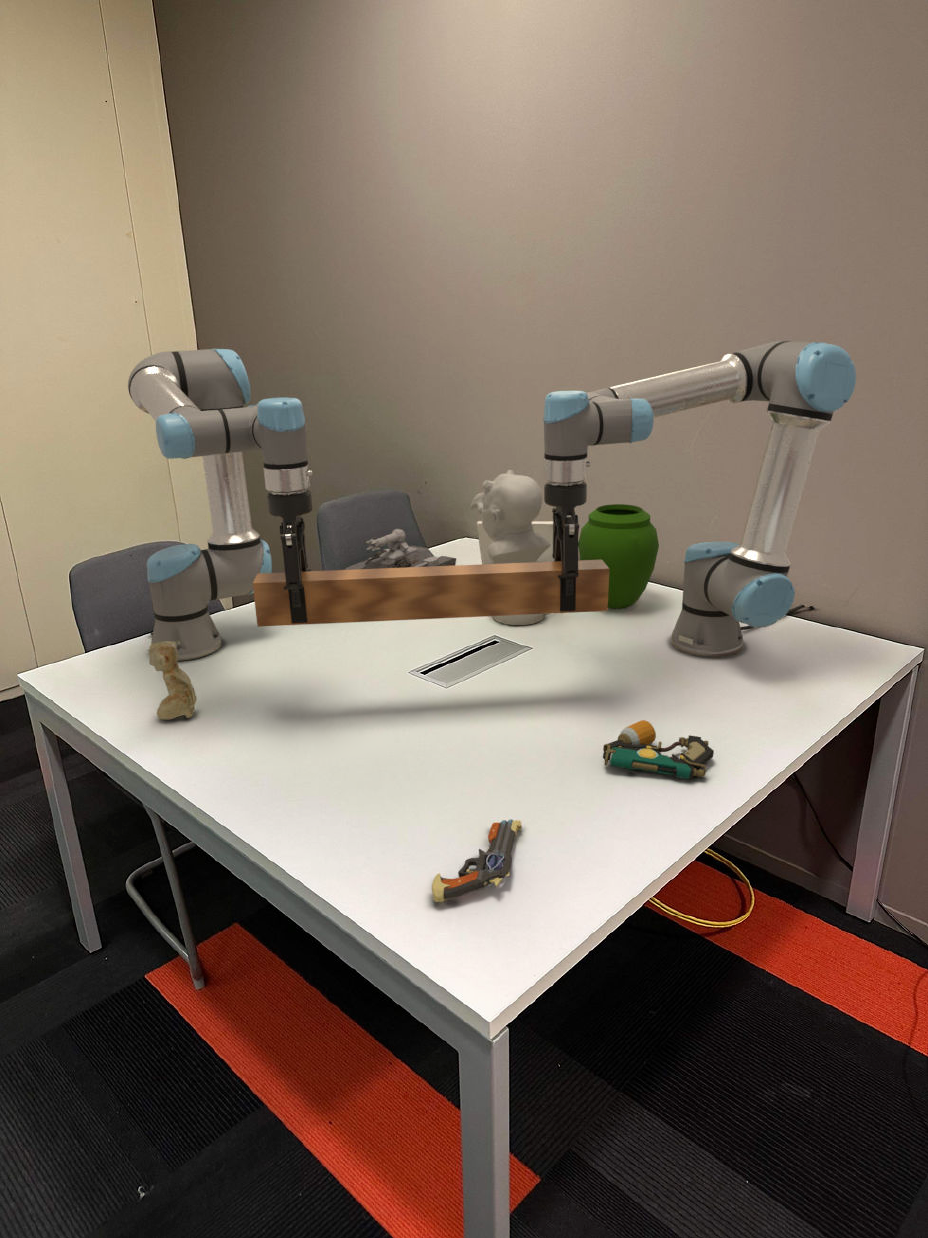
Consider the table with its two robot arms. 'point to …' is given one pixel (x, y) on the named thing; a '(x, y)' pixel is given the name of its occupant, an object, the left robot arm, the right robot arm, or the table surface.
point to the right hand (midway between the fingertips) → (564, 604)
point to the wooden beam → (430, 592)
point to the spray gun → (657, 752)
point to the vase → (621, 549)
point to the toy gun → (481, 864)
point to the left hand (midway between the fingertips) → (301, 616)
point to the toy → (400, 554)
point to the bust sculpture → (512, 526)
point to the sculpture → (172, 681)
